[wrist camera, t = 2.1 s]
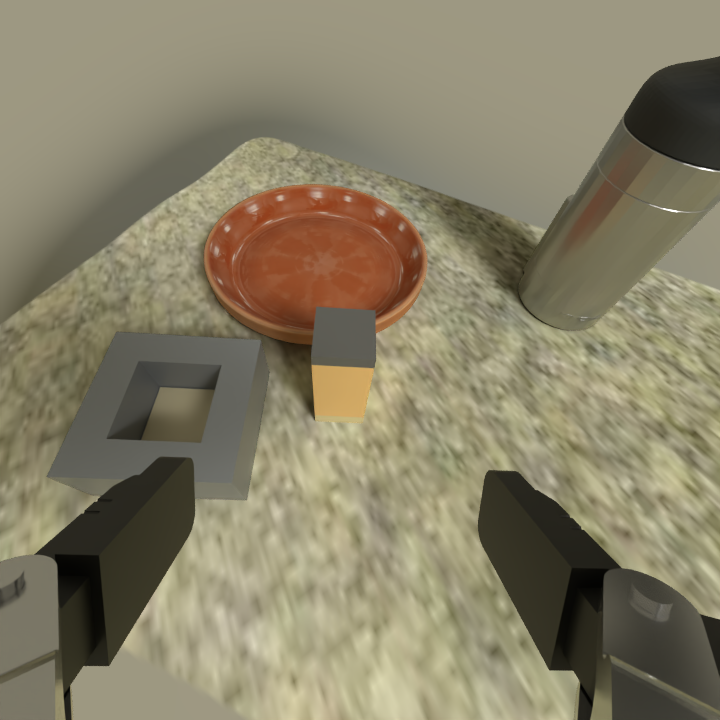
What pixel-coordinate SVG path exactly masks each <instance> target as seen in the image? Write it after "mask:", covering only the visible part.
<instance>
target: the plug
mask: <svg viewBox="0 0 720 720" xmlns="http://www.w3.org/2000/svg"><path fill="white" fill-rule="evenodd" d="M375 362H376V315H375V310H362V309H346V308H330V307H316V313H315V323H314V332H313V341H312V351H311V365H312V380H313V395H314V409H315V421H325V422H347V423H363V418H364V413H365V409H366V404H367V399H368V395H369V390H370V385H371V381H372V376H373V371H374V367H375Z"/></svg>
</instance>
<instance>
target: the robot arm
mask: <svg viewBox="0 0 720 720" xmlns="http://www.w3.org/2000/svg"><path fill="white" fill-rule="evenodd" d="M719 201H720V56H719V57H715V58H710V59H705V60H699V61H693V62H685V63H680V64H675V65H671V66H668V67H665V68H663V69H661V70H659V71H657V72H656V73H654V74H653V75H652V76H651V77H650V78H649V79H648V80H647V81H646V82H645V83H644V84H643V86H642V87H641V89H640V90H639V92H638V93H637V95H636V96H635V98H634V100H633V101H632V103H631V105H630V106H629V108H628V109H627V111H626V112H625V114H624V116H623V117H622V119H621V120H620V122H619V124H618V125H617V127H616V128H615V130H614V132H613V133H612V135H611V136H610V138H609V140H608V141H607V143H606V144H605V146H604V148H603V149H602V151H601V152H600V154H599V156H598V158H597V159H596V161H595V163H594V164H593V166H592V167H591V169H590V170H589V172H588V173H587V175H586V177H585V178H584V180H583V181H582V183H581V185H580V186H579V188H578V190H577V191H576V193H575V194H574V195H571V196H569V197H567V199H566V200H565V201H564V203H563V205H562V207H561V208H560V210H559V211H558V213H557V214H556V216H555V218H554V219H553V221H552V223H551V224H550V226H549V228H548V229H547V231H546V232H545V234H544V236H543V237H542V239H541V241H540V242H539V244H538V245H537V247H536V249H535V250H534V252H533V254H532V255H531V257H530V259H529V260H528V262H527V263H526V265H525V267H524V268H523V269H524V275H523V277H522V278H521V280H520V283H519V295H520V298H521V300H522V302H523V304H524V305H525V307H526V308H527V309H528V310H529V311H530V312H531V313H532V314H533V315H534V316H536V317H537V318H538V319H540V320H541V321H543V322H545V323H547V324H549V325H551V326H553V327H557V328H560V329H564V330H571V331H574V330H584V329H588V328H590V327H591V326H593V325H594V324H595V323H596V322H598V321H599V320H600V319H601V318H602V317H603V316H604V315H605V314H606V313H607V312H608V311H609V310H610V309H611V308H612V307H613V306H614V305H615V304H616V303H617V302H618V301H619V300H620V299H621V298H622V297H623V296H624V295H625V294H626V293H627V292H628V291H629V290H630V289H631V288H632V287H633V286H634V285H635V284H636V283H637V282H638V281H640V280H641V279H642V278H643V277H644V276H645V275H646V274H647V273H648V272H649V271H650V270H651V269H652V268H653V267H654V266H655V265H656V264H657V262H659V261H660V260H661V259H662V258H663V257H664V256H665V255H666V254H667V253H668V252H669V250H671V249H672V248H673V247H674V246H675V245H676V244H677V243H678V242H679V241H680V240H681V239H682V238H683V237H684V236H685V235H686V234H687V233H688V232H689V231H690V230H691V229H692V228H693V227H694V226H695V225H696V224H697V223H698V222H699V221H700V220H701V219H702V218H703V217H704V216H705V215H706V214H707V213H708V212H709V211H710V210H711V209H712V208H713V207H714V206H715V205H716V204H717V203H718V202H719ZM194 517H195V487H194V464H193V460H192V459H191V458H189V457H164V456H161V457H158V458H157V459H156V460H155V461H154V462H153V463H152V464H151V465H150V466H149V467H147V468H146V469H145V470H144V471H143V472H142V473H141V474H140V475H133V476H131V477H129V478H127V479H125V480H123V481H121V482H120V483H118V484H116V485H114V486H112V487H111V488H110V489H109V490H108V491H107V492H106V493H104V494H103V495H102V496H101V497H100V498H99V499H98V501H97V502H94V503H93V504H92V505H91V506H89V507H88V508H87V509H86V510H85V512H84V514H80V515H79V516H78V517H77V518H76V519H75V520H73V521H72V522H71V523H70V524H69V525H68V526H67V527H65V528H64V529H63V530H62V531H61V532H60V533H59V534H57V535H56V536H55V537H54V538H53V539H52V540H50V541H49V542H48V543H47V544H46V545H45V546H44V547H42V548H41V549H40V550H39V551H38V552H37V553H36V554H34V555H26V556H19V557H14V558H11V559H7V560H4V561H1V562H0V720H73V701H72V689H71V683H72V682H73V680H74V679H75V677H76V676H77V674H78V673H79V672H80V670H81V669H82V667H83V666H109V665H110V664H111V662H112V660H113V659H114V657H115V655H116V654H117V652H118V651H119V649H120V647H121V646H122V644H123V642H124V641H125V639H126V637H127V636H128V634H129V633H130V631H131V629H132V628H133V626H134V624H135V623H136V621H137V620H138V618H139V616H140V615H141V613H142V611H143V610H144V608H145V607H146V605H147V603H148V602H149V600H150V598H151V597H152V595H153V594H154V592H155V590H156V589H157V587H158V585H159V584H160V582H161V581H162V579H163V577H164V576H165V574H166V572H167V571H168V569H169V567H170V566H171V564H172V563H173V561H174V559H175V558H176V556H177V554H178V553H179V551H180V550H181V548H182V546H183V545H184V543H185V541H186V540H187V538H188V536H189V534H190V532H191V530H192V526H193V523H194ZM478 532H479V537H480V541H481V544H482V546H483V548H484V550H485V552H486V553H487V555H488V557H489V559H490V561H491V563H492V565H493V566H494V568H495V570H496V572H497V574H498V576H499V578H500V579H501V581H502V583H503V585H504V587H505V589H506V591H507V592H508V594H509V596H510V598H511V600H512V602H513V604H514V606H515V607H516V609H517V611H518V613H519V615H520V617H521V619H522V620H523V622H524V624H525V626H526V628H527V630H528V632H529V633H530V635H531V637H532V639H533V641H534V643H535V645H536V646H537V648H538V650H539V652H540V654H541V656H542V658H543V659H544V661H545V663H546V665H547V667H548V669H549V670H572V671H574V672H575V674H576V676H577V677H578V679H579V683H578V687H577V692H576V698H575V711H574V720H720V620H719V619H716V618H712V617H708V616H704V615H700V614H699V613H698V611H697V610H696V608H695V607H694V606H693V605H692V604H691V603H690V602H689V601H688V600H687V599H686V598H685V597H684V596H682V595H681V594H680V593H679V592H677V591H676V590H674V589H673V588H672V587H670V586H668V585H667V584H665V583H663V582H662V581H660V580H658V579H656V578H654V577H651V576H649V575H647V574H644V573H641V572H638V571H634V570H630V569H622V568H621V567H620V566H619V565H618V564H617V563H616V562H615V561H614V560H613V559H612V558H611V557H610V556H609V555H608V554H607V553H606V552H605V551H604V550H603V549H602V548H601V547H600V546H599V545H598V544H597V543H596V542H595V541H594V540H593V539H592V538H591V537H590V536H589V535H588V534H587V533H586V532H585V531H584V530H581V526H580V525H579V524H578V523H577V522H576V521H575V520H574V519H573V518H570V515H569V514H568V513H567V512H566V511H565V510H564V509H563V508H562V507H561V506H560V505H559V504H558V503H557V502H556V501H554V500H552V499H551V498H549V497H548V496H546V495H544V494H543V493H541V492H539V491H538V490H535V489H534V488H533V487H532V486H531V485H530V484H529V483H528V482H527V481H526V480H525V479H524V478H523V477H522V476H521V474H520V473H518V472H517V471H497V470H489V471H488V472H487V473H486V475H485V479H484V485H483V492H482V498H481V505H480V511H479V518H478Z"/></svg>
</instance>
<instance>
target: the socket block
mask: <svg viewBox="0 0 720 720" xmlns="http://www.w3.org/2000/svg"><path fill="white" fill-rule="evenodd" d="M269 373H270V372H269V368H268V364H267V361H266V357H265V353H264V349H263V346H262V342H261V340H252V339H235V338H217V337H200V336H183V335H165V334H148V333H131V332H116V334H115V336H114V338H113V340H112V342H111V344H110V346H109V348H108V350H107V353H106V355H105V357H104V359H103V361H102V363H101V365H100V367H99V369H98V371H97V373H96V375H95V377H94V380H93V382H92V384H91V386H90V388H89V390H88V392H87V394H86V396H85V398H84V400H83V402H82V404H81V406H80V409H79V411H78V413H77V415H76V417H75V419H74V421H73V423H72V425H71V427H70V429H69V431H68V433H67V435H66V438H65V440H64V442H63V444H62V446H61V448H60V450H59V452H58V454H57V456H56V458H55V460H54V462H53V464H52V467H51V469H50V471H49V473H48V475H47V477H48V478H50V479H53V480H55V481H58V482H60V483H63V484H65V485H68V486H70V487H73V488H75V489H78V490H80V491H83V492H85V493H88V494H90V495H101V496H102V495H103V494H104V493H106V492H107V491H108V490H109V489H110V488H111V487H112V486H114V485H116V484H118V483H120V482H121V481H123V480H125V479H127V478H129V477H131V476H133V475H140V474H141V473H142V472H143V471H144V470H145V469H146V468H147V467H149V466H150V465H151V464H152V463H153V462H154V461H155V460H156V459H157V458H158V457H161V456H164V457H189V458H191V459H192V460H193V464H194V487H195V499H225V500H247V497H248V491H249V485H250V480H251V474H252V468H253V463H254V457H255V452H256V446H257V440H258V435H259V429H260V423H261V418H262V412H263V407H264V401H265V395H266V390H267V384H268V378H269Z"/></svg>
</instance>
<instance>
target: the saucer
mask: <svg viewBox="0 0 720 720" xmlns="http://www.w3.org/2000/svg"><path fill="white" fill-rule="evenodd" d="M204 266H205V271H206V275H207V278H208V280H209V283H210V285H211V287H212V289H213V291H214V293H215V296H216V297H217V299H218V300H219V302H220V303H221V304H222V306H223V307H224V308H225V309H226V310H227V311H228V312H229V313H230V314H231V315H232V316H233V317H234V318H235V319H237V320H238V321H240V322H241V323H242V324H244V325H245V326H247V327H249V328H251V329H253V330H255V331H257V332H259V333H261V334H263V335H266V336H269V337H271V338H274V339H278V340H282V341H286V342H291V343H298V344H308V345H312V341H313V332H314V323H315V313H316V307H330V308H346V309H362V310H375V315H376V333H378V332H380V331H382V330H384V329H385V328H387V327H389V326H390V325H392V324H393V323H395V322H396V321H397V320H399V319H400V318H401V317H402V316H403V315H404V314H405V313H406V312H407V311H408V310H409V309H410V308H411V306H412V305H413V304H414V302H415V301H416V299H417V297H418V295H419V293H420V290H421V288H422V285H423V282H424V280H425V276H426V271H427V253H426V249H425V245H424V243H423V240H422V238H421V236H420V234H419V233H418V231H417V229H416V228H415V227H414V226H413V224H412V223H411V222H410V221H409V220H408V219H407V218H406V217H405V216H404V215H403V214H402V213H400V212H399V211H398V210H396V209H395V208H394V207H392V206H391V205H389V204H387V203H386V202H384V201H382V200H380V199H378V198H376V197H373V196H371V195H368V194H366V193H363V192H360V191H356V190H352V189H348V188H344V187H338V186H331V185H320V184H304V185H292V186H285V187H280V188H276V189H271V190H268V191H265V192H261V193H259V194H256V195H254V196H251V197H249V198H247V199H245V200H243V201H242V202H240V203H238V204H237V205H235V206H234V207H232V208H231V209H230V210H228V211H227V212H226V213H225V214H224V215H223V216H222V217H221V218H220V219H219V220H218V221H217V223H216V224H215V225H214V227H213V228H212V230H211V232H210V234H209V236H208V238H207V241H206V244H205V249H204Z"/></svg>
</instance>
